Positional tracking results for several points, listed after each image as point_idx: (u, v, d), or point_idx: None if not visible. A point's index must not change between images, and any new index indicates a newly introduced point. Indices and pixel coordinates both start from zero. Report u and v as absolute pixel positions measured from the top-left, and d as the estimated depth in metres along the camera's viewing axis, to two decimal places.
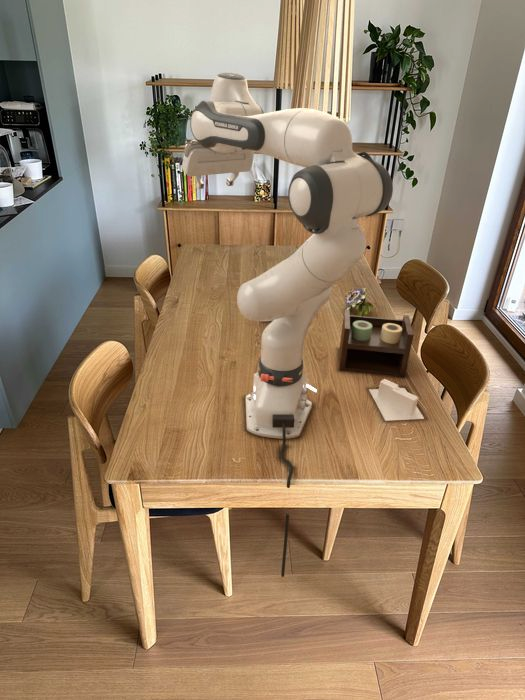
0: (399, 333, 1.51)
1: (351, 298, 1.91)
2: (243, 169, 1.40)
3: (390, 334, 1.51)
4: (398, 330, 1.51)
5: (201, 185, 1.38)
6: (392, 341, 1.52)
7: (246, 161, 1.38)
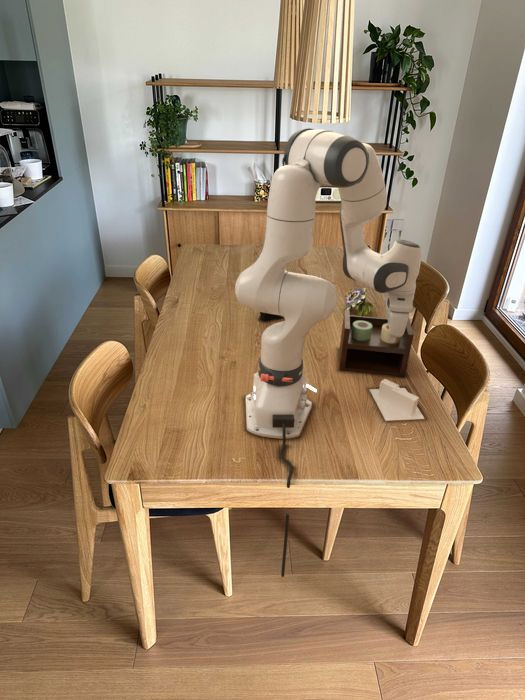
0: None
1: (351, 298, 1.91)
2: (389, 330, 1.45)
3: None
4: None
5: None
6: None
7: None
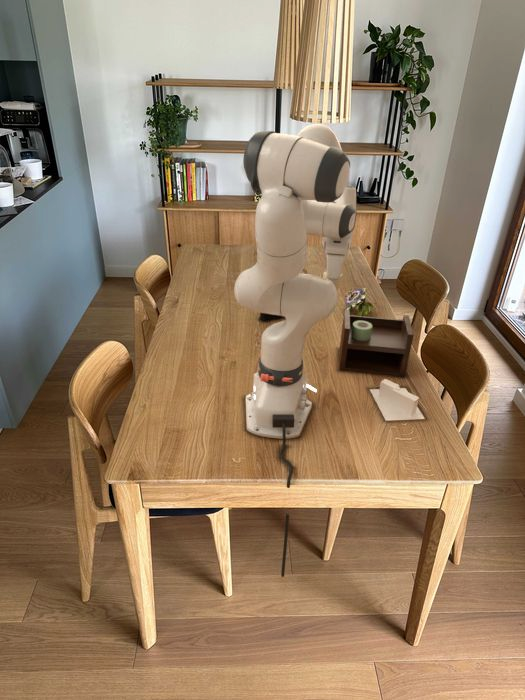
0: (339, 279, 1.53)
1: (351, 298, 1.91)
2: None
3: None
4: None
5: None
6: None
7: None
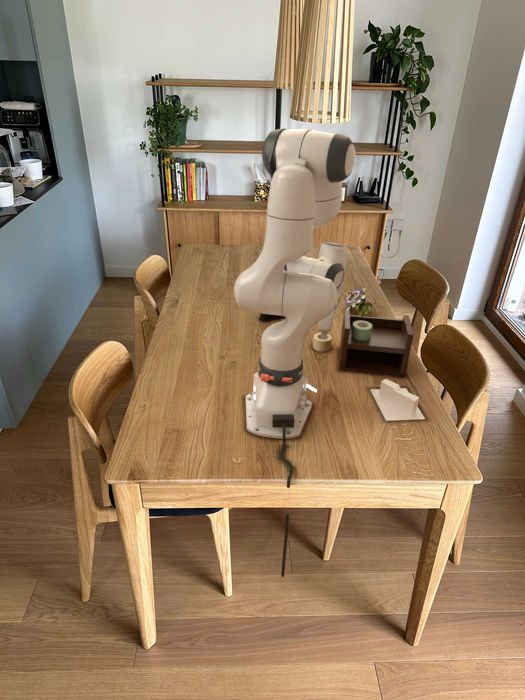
0: (328, 342, 1.65)
1: (351, 298, 1.91)
2: None
3: (320, 343, 1.65)
4: (327, 339, 1.65)
5: None
6: (322, 349, 1.66)
7: None
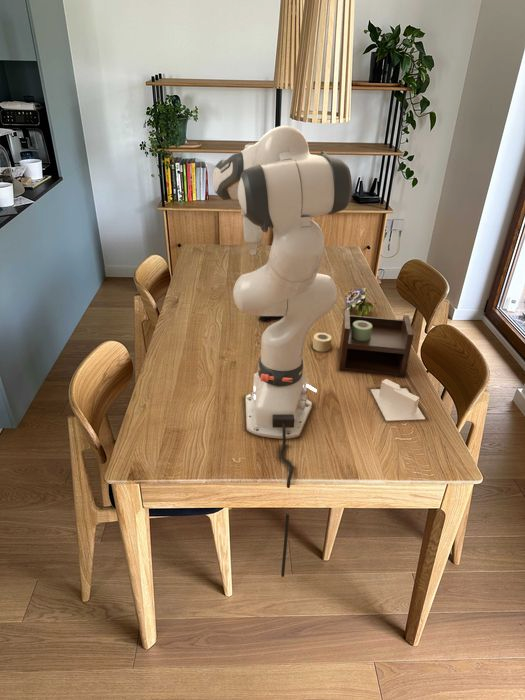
0: (328, 342, 1.65)
1: (351, 298, 1.91)
2: None
3: (320, 343, 1.65)
4: (327, 339, 1.65)
5: None
6: (322, 349, 1.66)
7: None
